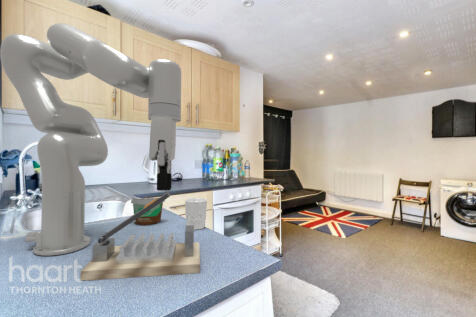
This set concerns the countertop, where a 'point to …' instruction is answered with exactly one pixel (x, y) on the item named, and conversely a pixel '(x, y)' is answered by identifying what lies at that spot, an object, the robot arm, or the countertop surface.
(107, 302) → the countertop surface
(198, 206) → the white cup
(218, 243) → the countertop surface
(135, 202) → the food container
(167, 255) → the heat sink
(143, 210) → the strap
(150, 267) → the board
